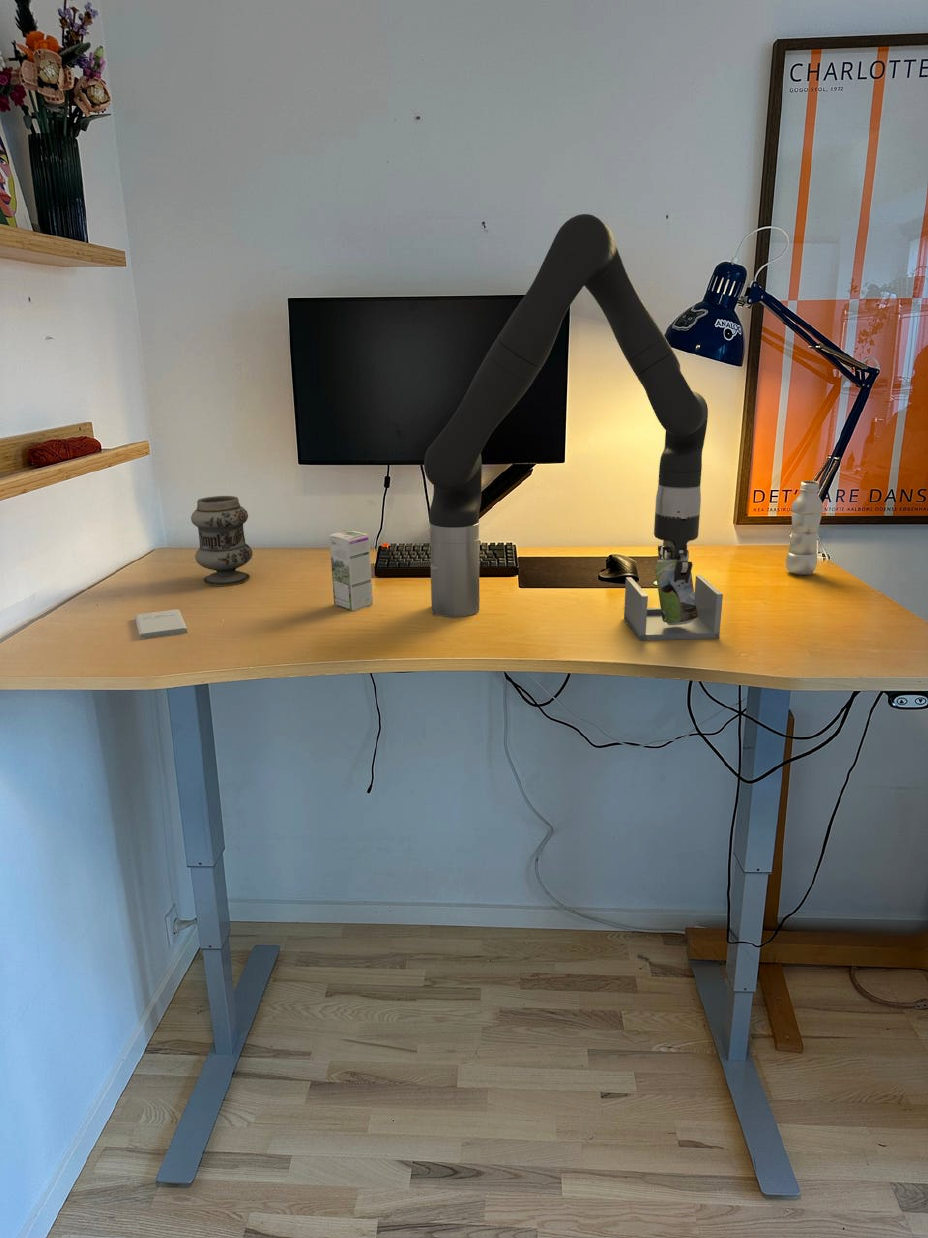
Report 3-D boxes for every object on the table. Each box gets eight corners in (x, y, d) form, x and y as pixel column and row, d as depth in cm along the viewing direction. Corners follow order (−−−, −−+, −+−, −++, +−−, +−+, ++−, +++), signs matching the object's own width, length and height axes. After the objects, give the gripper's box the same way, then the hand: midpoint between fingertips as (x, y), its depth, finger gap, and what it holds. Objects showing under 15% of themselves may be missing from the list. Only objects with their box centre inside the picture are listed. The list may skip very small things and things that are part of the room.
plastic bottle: (818, 572, 191) (829, 481, 185) (812, 579, 186) (823, 485, 179) (788, 568, 195) (798, 478, 188) (780, 575, 189) (790, 483, 183)
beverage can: (697, 628, 150) (699, 559, 147) (653, 627, 152) (654, 559, 149) (696, 620, 156) (698, 553, 153) (654, 619, 158) (655, 553, 155)
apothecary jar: (224, 570, 199) (215, 491, 193) (266, 576, 193) (259, 495, 188) (185, 584, 188) (176, 501, 183) (229, 590, 183) (220, 505, 177)
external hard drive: (140, 642, 155) (135, 622, 166) (188, 635, 158) (180, 616, 169) (139, 633, 155) (134, 613, 165) (187, 627, 158) (179, 608, 168)
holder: (639, 640, 151) (642, 596, 149) (623, 618, 162) (625, 577, 160) (719, 638, 152) (723, 594, 149) (698, 616, 163) (701, 575, 161)
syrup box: (374, 604, 173) (370, 532, 168) (351, 611, 168) (347, 538, 164) (355, 599, 176) (351, 528, 172) (332, 605, 172) (328, 533, 168)
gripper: (645, 503, 157) (640, 595, 162) (667, 519, 144) (660, 619, 149) (687, 502, 157) (680, 594, 163) (711, 518, 144) (703, 618, 149)
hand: (671, 606), depth 156 cm, fingers closed on beverage can
